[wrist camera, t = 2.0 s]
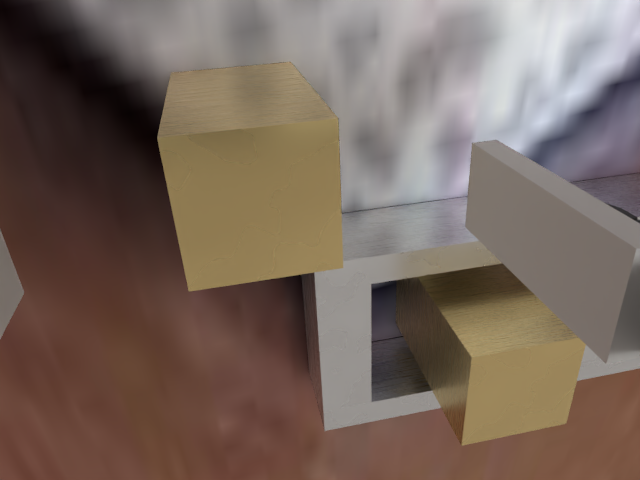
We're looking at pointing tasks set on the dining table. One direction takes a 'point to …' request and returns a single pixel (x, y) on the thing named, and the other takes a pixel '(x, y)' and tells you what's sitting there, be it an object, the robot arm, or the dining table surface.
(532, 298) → the tan wooden brick
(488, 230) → the robot arm
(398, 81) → the dining table surface
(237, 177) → the yellow rectangular block
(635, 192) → the rail
